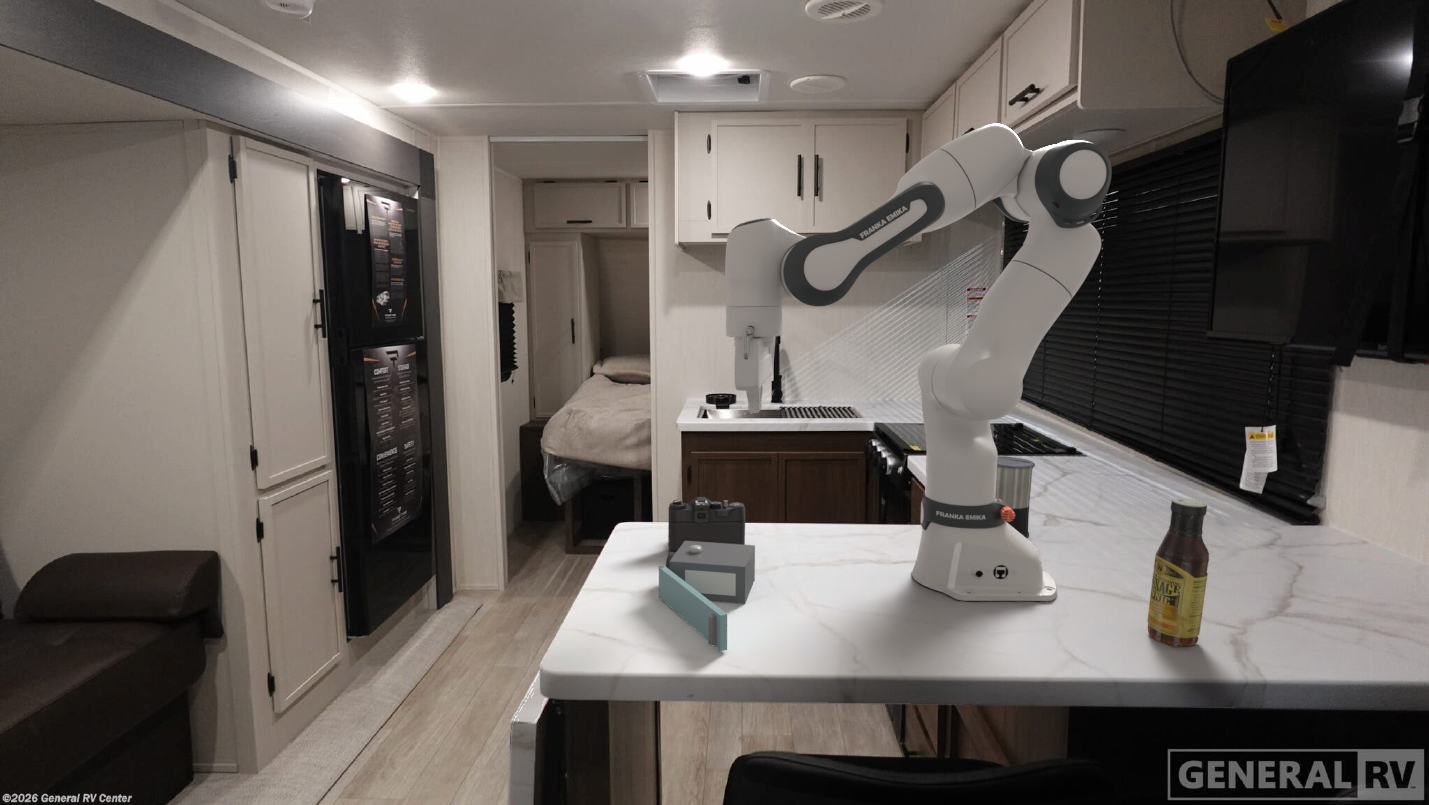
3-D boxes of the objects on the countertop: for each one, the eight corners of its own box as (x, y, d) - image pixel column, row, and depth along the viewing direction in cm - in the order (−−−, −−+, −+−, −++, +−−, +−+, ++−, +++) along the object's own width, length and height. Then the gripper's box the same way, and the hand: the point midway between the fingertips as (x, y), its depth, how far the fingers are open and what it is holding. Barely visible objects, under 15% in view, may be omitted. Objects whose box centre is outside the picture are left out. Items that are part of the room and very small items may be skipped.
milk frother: (1024, 527, 153) (1029, 456, 151) (1042, 553, 138) (1048, 475, 136) (952, 523, 156) (955, 453, 154) (962, 548, 140) (966, 471, 138)
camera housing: (754, 579, 125) (755, 540, 124) (745, 604, 115) (745, 561, 114) (677, 573, 128) (676, 535, 127) (661, 597, 118) (660, 555, 117)
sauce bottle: (1136, 630, 106) (1148, 494, 103) (1177, 628, 107) (1190, 493, 104) (1167, 651, 100) (1181, 508, 97) (1211, 650, 100) (1226, 506, 98)
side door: (727, 649, 100) (727, 614, 99) (715, 652, 99) (715, 616, 98) (663, 595, 118) (663, 565, 117) (653, 597, 117) (652, 567, 116)
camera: (740, 536, 148) (740, 487, 146) (746, 555, 137) (746, 502, 136) (668, 537, 147) (667, 488, 145) (668, 557, 136) (668, 504, 135)
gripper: (766, 328, 107) (767, 423, 109) (780, 321, 127) (780, 402, 129) (723, 328, 108) (725, 422, 110) (743, 322, 128) (744, 402, 130)
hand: (755, 411), depth 120 cm, fingers closed
